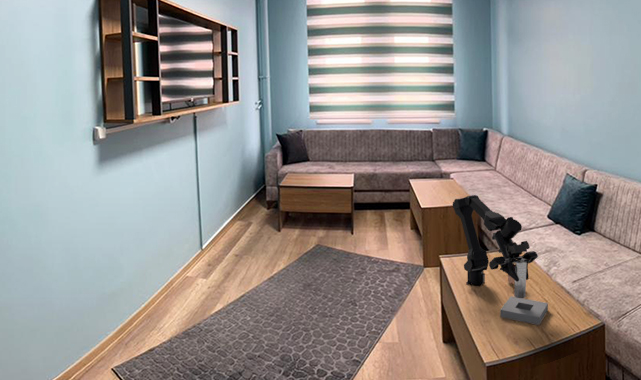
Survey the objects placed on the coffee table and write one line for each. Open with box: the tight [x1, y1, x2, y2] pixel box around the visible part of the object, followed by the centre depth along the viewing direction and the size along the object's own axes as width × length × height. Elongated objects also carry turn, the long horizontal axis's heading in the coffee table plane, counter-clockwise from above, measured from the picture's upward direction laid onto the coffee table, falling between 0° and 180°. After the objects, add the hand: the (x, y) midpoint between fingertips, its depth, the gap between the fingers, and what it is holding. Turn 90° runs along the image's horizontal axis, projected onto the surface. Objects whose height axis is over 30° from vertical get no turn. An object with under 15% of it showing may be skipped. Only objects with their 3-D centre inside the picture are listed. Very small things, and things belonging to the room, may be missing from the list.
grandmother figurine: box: [502, 262, 515, 286], centre depth 224 cm, size 8×4×13 cm, turn 71°
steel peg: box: [513, 259, 527, 299], centre depth 197 cm, size 4×4×14 cm
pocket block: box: [499, 295, 549, 326], centre depth 197 cm, size 14×14×3 cm
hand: (522, 280), depth 196 cm, fingers closed on steel peg, 4 cm apart
